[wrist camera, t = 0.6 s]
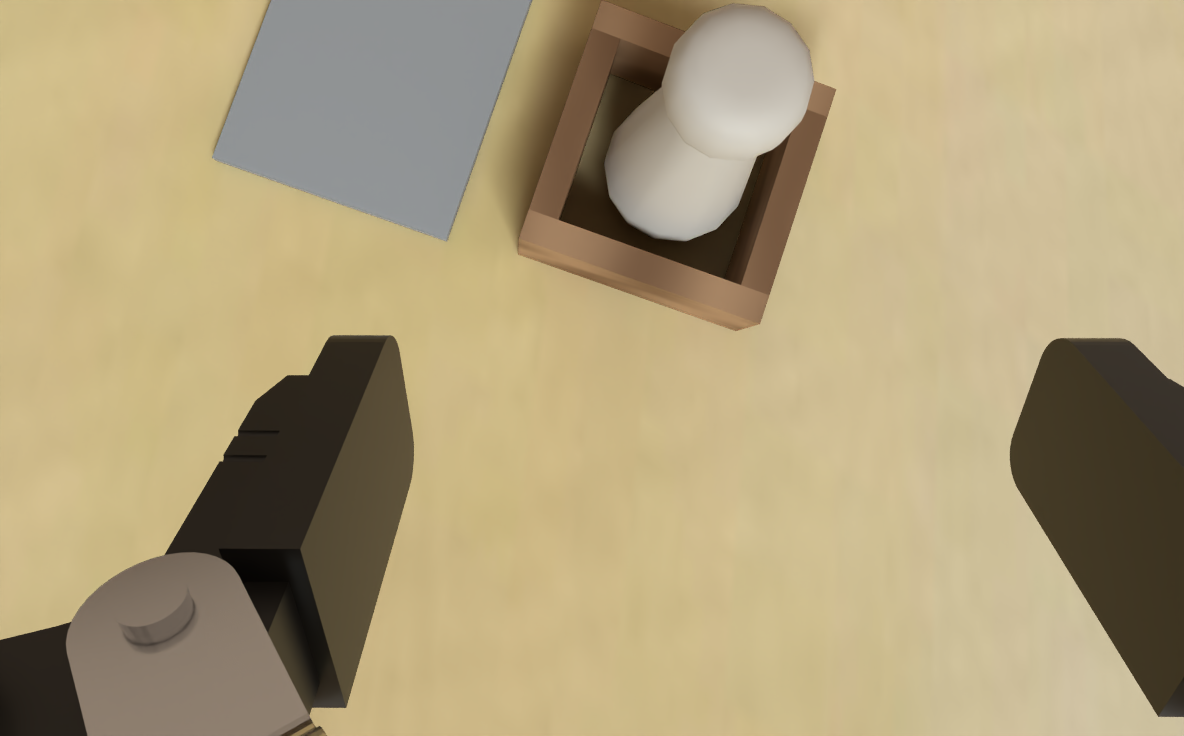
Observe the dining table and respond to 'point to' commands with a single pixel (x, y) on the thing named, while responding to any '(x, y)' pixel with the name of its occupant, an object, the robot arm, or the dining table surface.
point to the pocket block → (731, 302)
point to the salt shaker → (709, 122)
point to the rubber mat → (373, 101)
